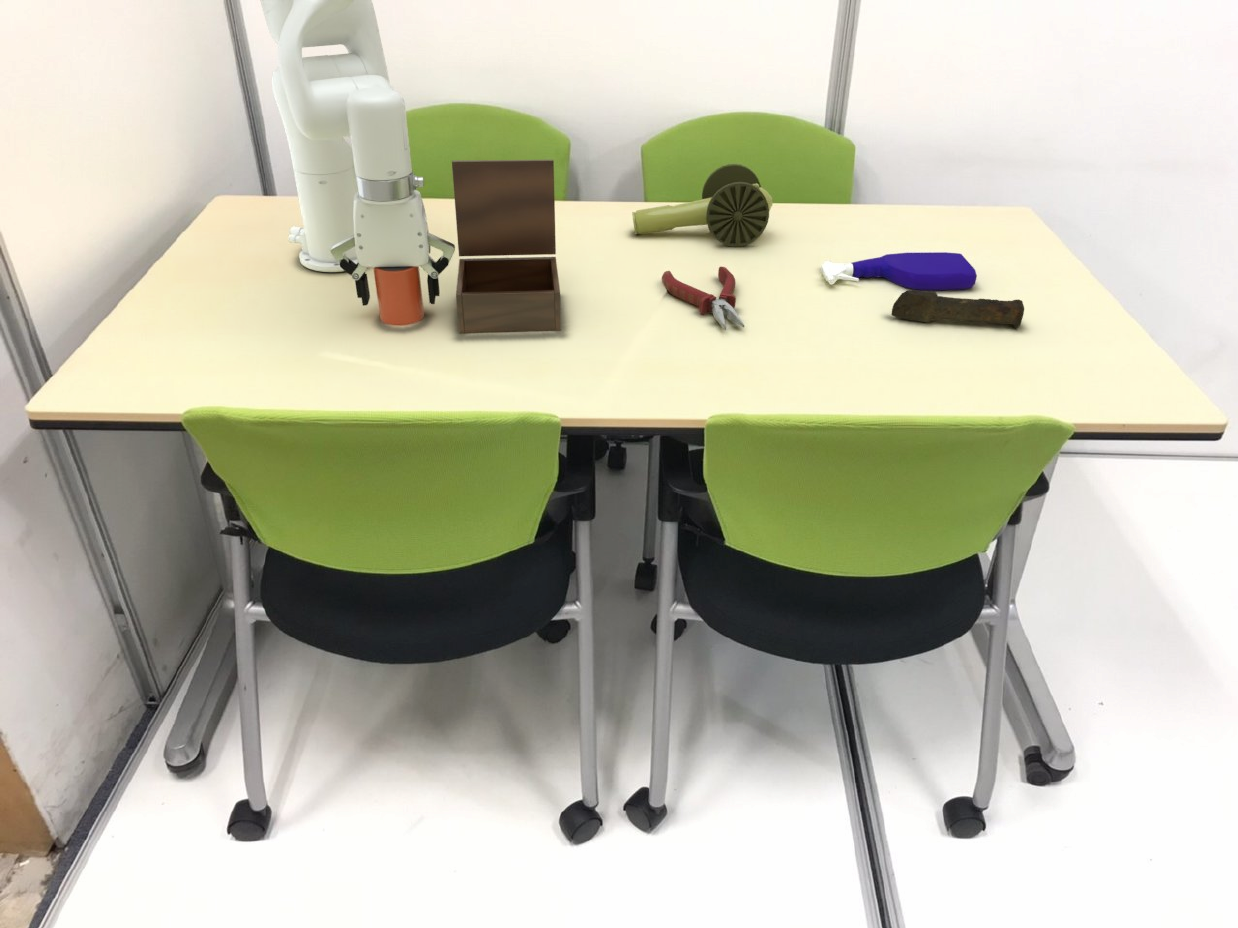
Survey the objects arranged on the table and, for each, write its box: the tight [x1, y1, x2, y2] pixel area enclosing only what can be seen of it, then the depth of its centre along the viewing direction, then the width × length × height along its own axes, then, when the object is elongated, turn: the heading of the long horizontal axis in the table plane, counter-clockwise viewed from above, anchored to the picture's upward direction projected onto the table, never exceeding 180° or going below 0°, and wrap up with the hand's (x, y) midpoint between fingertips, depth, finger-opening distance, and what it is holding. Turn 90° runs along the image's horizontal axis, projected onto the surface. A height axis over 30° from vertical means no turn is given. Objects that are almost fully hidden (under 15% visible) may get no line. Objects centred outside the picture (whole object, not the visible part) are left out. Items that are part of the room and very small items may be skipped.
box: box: [455, 256, 562, 335], centre depth 138 cm, size 13×15×7 cm
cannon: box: [631, 163, 774, 248], centre depth 166 cm, size 25×12×11 cm, turn 90°
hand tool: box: [890, 289, 1025, 329], centre depth 141 cm, size 19×4×5 cm, turn 82°
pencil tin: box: [372, 266, 425, 327], centre depth 136 cm, size 6×6×9 cm
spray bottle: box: [820, 251, 978, 291], centre depth 154 cm, size 3×11×24 cm
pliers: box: [661, 266, 745, 331], centre depth 144 cm, size 12×20×3 cm, turn 14°
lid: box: [451, 158, 557, 257], centre depth 139 cm, size 14×15×5 cm
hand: (399, 301), depth 137 cm, fingers open, 9 cm apart
